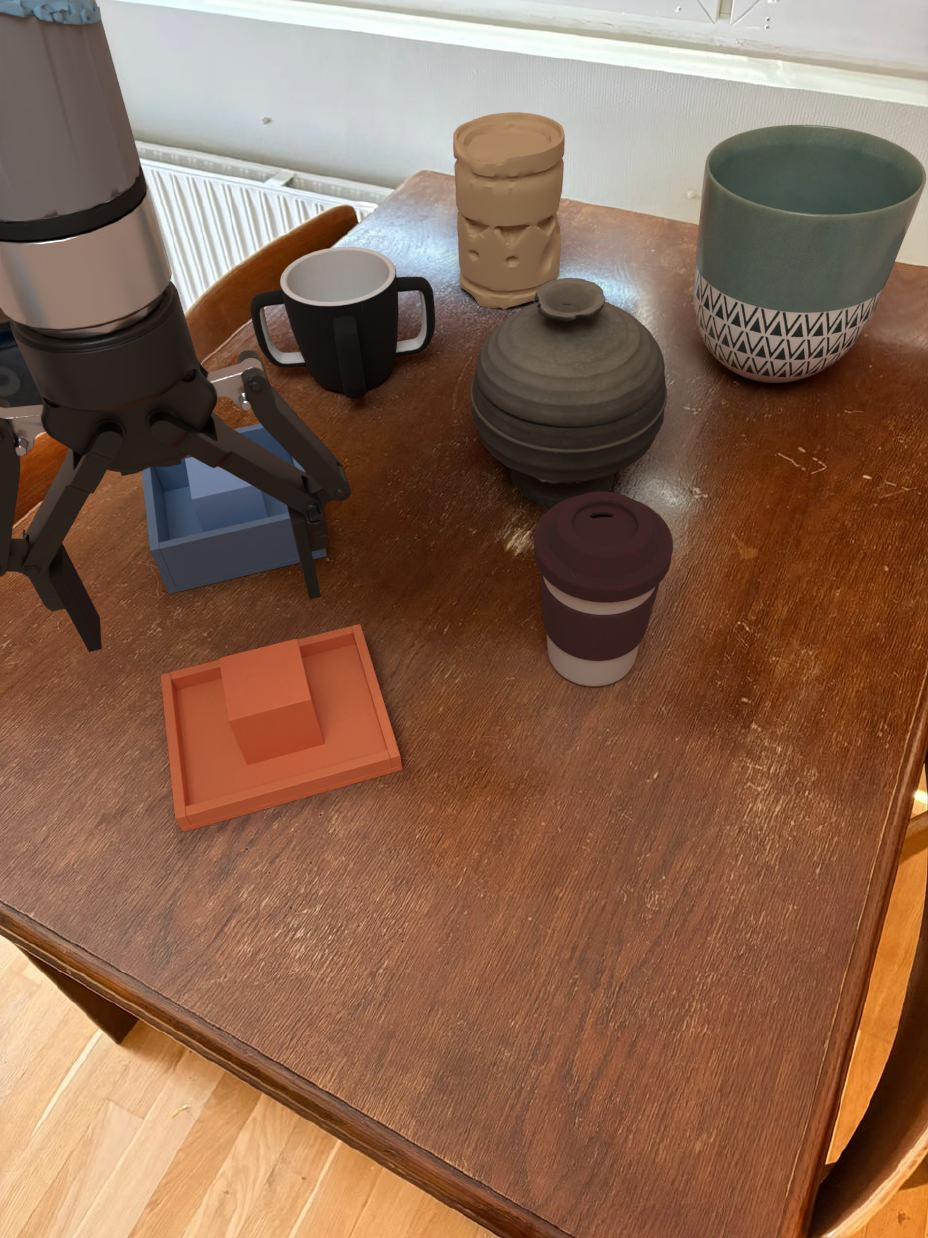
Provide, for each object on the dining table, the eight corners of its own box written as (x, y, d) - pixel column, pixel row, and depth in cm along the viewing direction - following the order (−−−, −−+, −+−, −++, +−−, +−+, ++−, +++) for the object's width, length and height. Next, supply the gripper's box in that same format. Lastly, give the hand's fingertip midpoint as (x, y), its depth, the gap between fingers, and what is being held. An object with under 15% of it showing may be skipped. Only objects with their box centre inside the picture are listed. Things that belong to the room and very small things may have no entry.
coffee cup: (620, 722, 70) (640, 592, 59) (509, 671, 74) (508, 541, 62) (670, 636, 75) (698, 503, 64) (565, 593, 79) (574, 460, 68)
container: (513, 321, 108) (513, 167, 94) (439, 287, 114) (429, 138, 100) (579, 280, 114) (588, 129, 100) (505, 250, 120) (504, 103, 106)
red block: (247, 765, 68) (228, 720, 64) (237, 704, 72) (218, 657, 67) (324, 744, 69) (311, 698, 65) (310, 684, 73) (297, 638, 68)
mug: (452, 367, 102) (447, 268, 93) (348, 434, 95) (330, 333, 86) (357, 318, 110) (343, 222, 101) (254, 376, 103) (228, 278, 94)
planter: (860, 429, 92) (933, 223, 76) (665, 406, 96) (695, 206, 80) (857, 326, 104) (920, 130, 88) (685, 309, 108) (714, 118, 92)
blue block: (209, 547, 84) (191, 499, 79) (201, 506, 88) (184, 458, 83) (272, 532, 85) (258, 483, 80) (262, 492, 89) (248, 444, 84)
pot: (541, 565, 80) (539, 361, 66) (443, 471, 92) (425, 280, 78) (696, 496, 86) (724, 294, 72) (586, 415, 98) (592, 229, 84)
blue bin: (169, 594, 81) (149, 550, 77) (156, 493, 90) (139, 449, 86) (327, 556, 83) (317, 511, 79) (299, 461, 93) (289, 416, 88)
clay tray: (183, 832, 65) (174, 819, 64) (167, 689, 74) (160, 674, 72) (403, 770, 68) (400, 755, 66) (363, 639, 77) (360, 623, 75)
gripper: (343, 216, 45) (383, 526, 61) (-194, 303, 41) (0, 613, 57) (378, 287, 40) (411, 603, 56) (-226, 395, 36) (-4, 705, 52)
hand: (205, 609), depth 57 cm, fingers open, 13 cm apart
